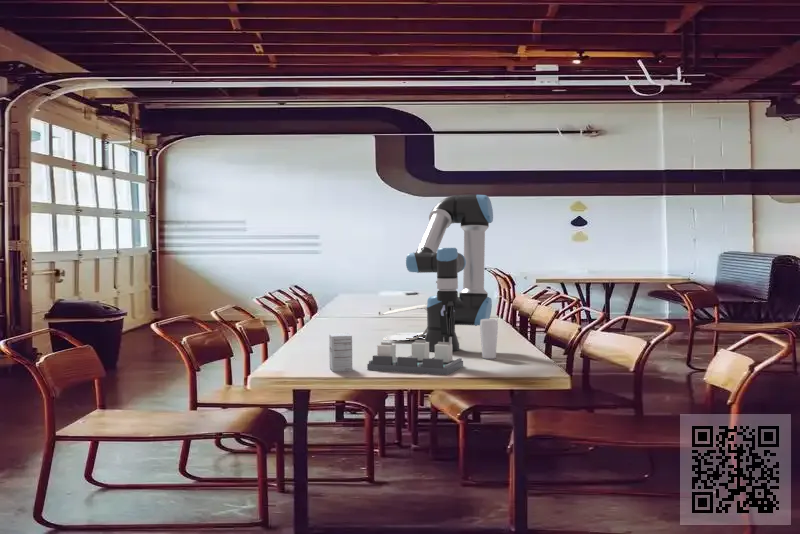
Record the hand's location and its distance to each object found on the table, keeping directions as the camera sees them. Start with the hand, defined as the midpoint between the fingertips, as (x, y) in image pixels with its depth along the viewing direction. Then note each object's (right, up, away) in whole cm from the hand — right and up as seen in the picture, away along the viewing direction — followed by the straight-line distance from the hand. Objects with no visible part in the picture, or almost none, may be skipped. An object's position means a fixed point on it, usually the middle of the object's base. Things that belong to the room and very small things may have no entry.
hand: (447, 354), depth 273 cm
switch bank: (-12, -4, -4) cm, 13 cm away
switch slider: (-2, -2, -4) cm, 5 cm away
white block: (-22, -2, -4) cm, 23 cm away
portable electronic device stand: (-13, -2, +81) cm, 82 cm away
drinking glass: (+17, -4, +17) cm, 25 cm away
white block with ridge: (-10, -2, +1) cm, 10 cm away
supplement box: (-38, -5, -6) cm, 39 cm away
